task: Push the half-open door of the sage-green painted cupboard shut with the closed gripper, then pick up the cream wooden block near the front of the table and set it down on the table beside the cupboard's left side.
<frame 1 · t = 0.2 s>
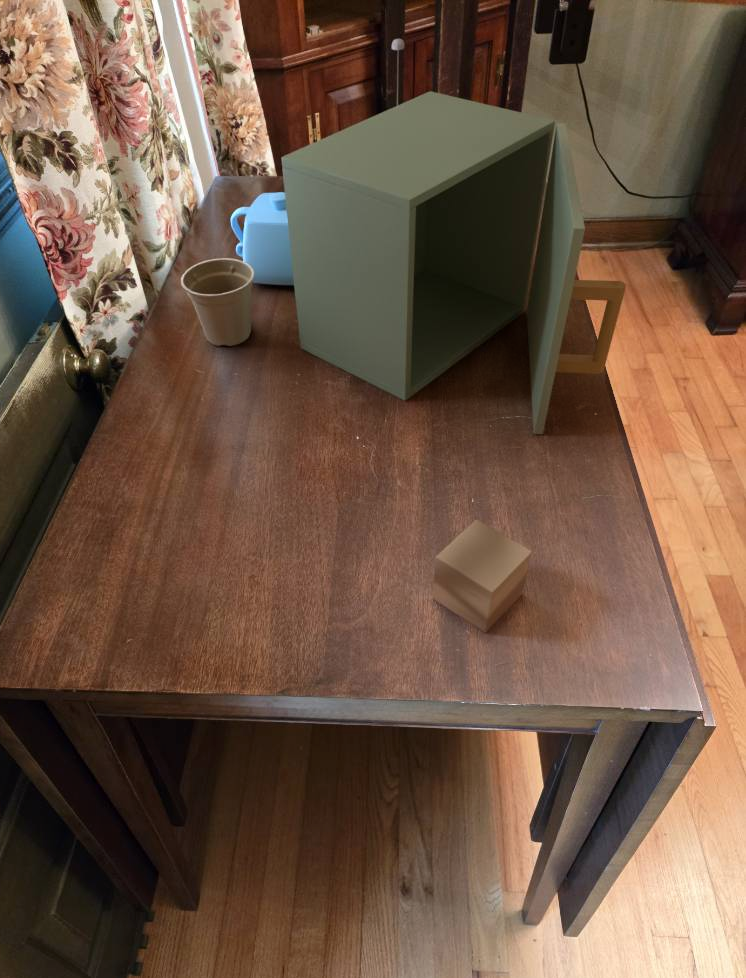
hand: (557, 47, 68), 34 cm above the table, tool pointing down, fingers open, 9 cm apart
block: (477, 596, 68), on the table
teapot: (295, 273, 110), on the table
flower pot: (228, 336, 100), on the table
french press: (401, 215, 122), on the table
cupboard door: (574, 279, 82), point 12 cm above the table, hinge at 35.0°
cupboard: (414, 329, 98), on the table
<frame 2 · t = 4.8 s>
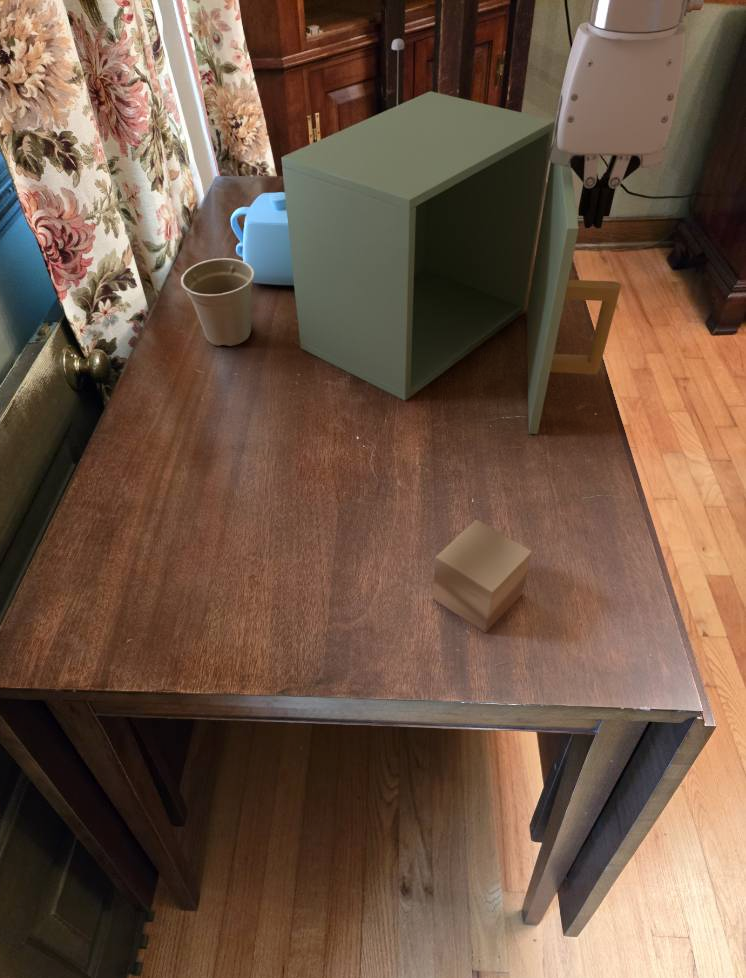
hand: (591, 222, 75), 19 cm above the table, tool pointing down, fingers closed
cupboard door: (572, 280, 82), point 12 cm above the table, hinge at 33.7°, touching gripper
everything else where it was.
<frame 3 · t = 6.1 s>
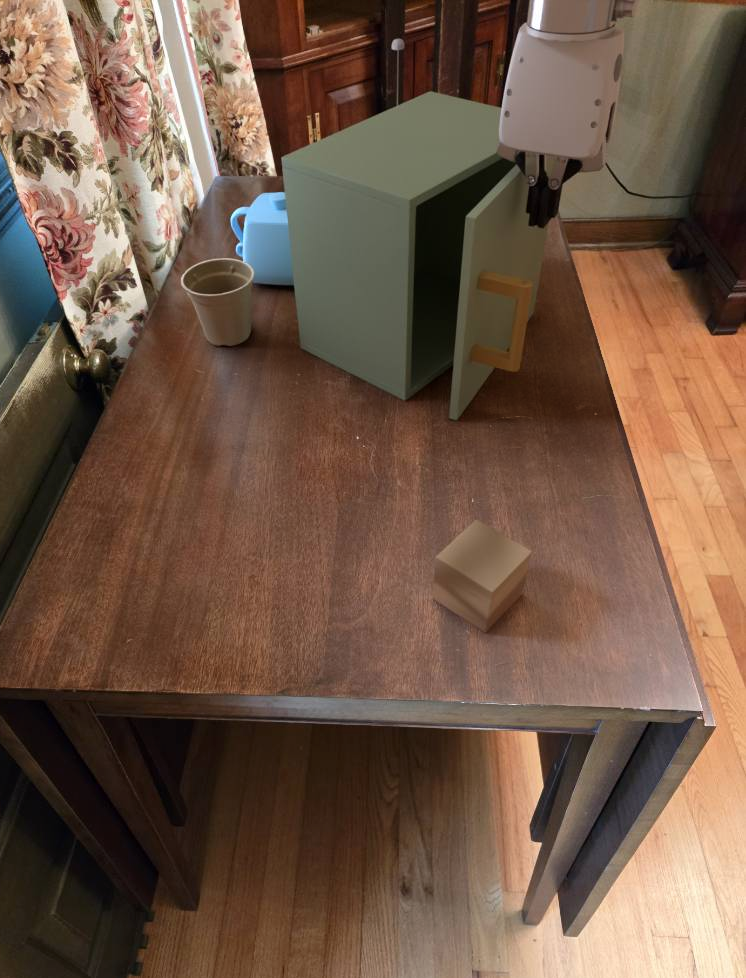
hand: (540, 221, 76), 19 cm above the table, tool pointing down, fingers closed
cupboard door: (529, 279, 82), point 12 cm above the table, hinge at 13.1°, touching gripper
everything else where it was.
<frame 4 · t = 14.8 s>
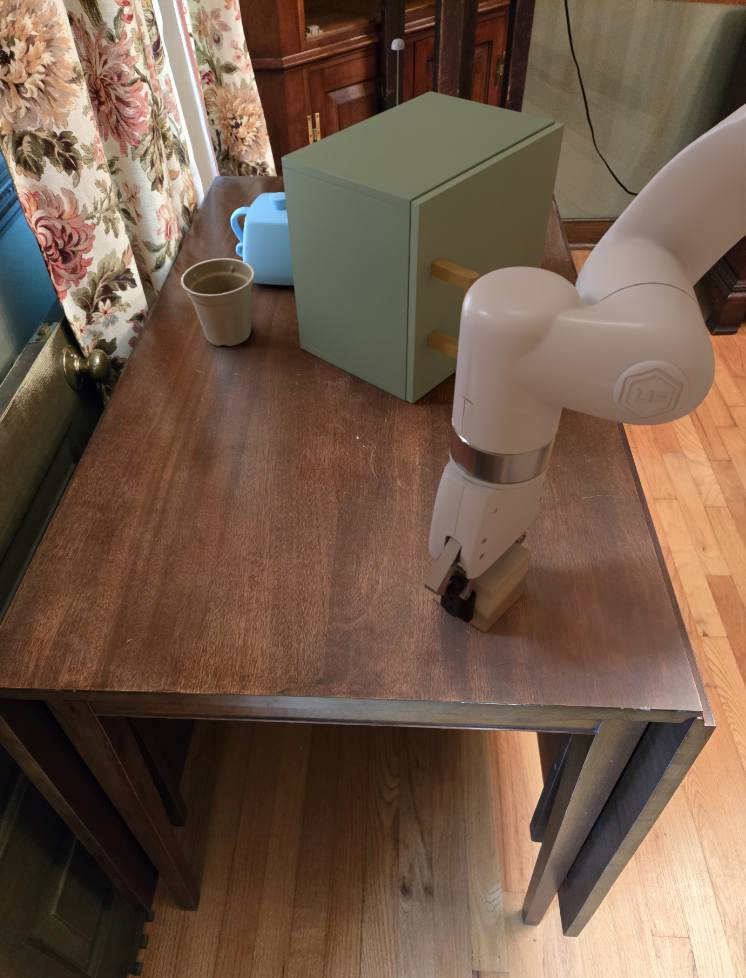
hand: (478, 589, 67), 1 cm above the table, tool pointing down, fingers closed on block, 6 cm apart
block: (477, 596, 68), on the table, touching gripper
cupboard door: (502, 274, 83), point 12 cm above the table, hinge at -0.2°
everything else where it was.
when the fingers open (1 cm above the table, at t = 22.3 s): block stays where it is, on the table.
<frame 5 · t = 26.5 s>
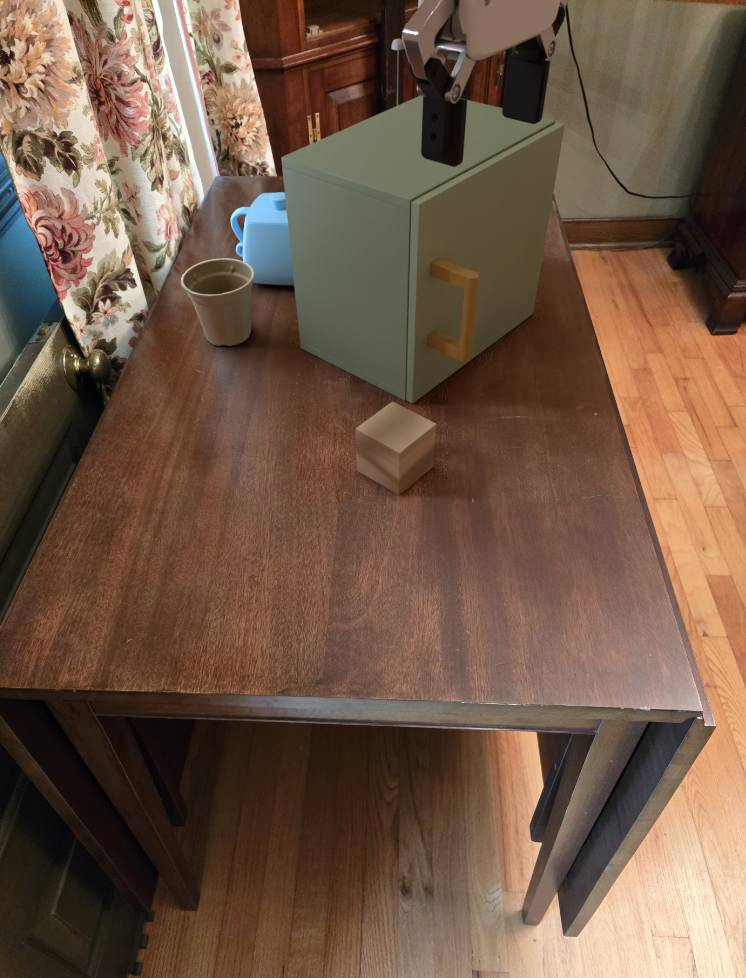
hand: (483, 139, 52), 34 cm above the table, tool pointing down, fingers open, 9 cm apart
block: (395, 468, 80), on the table
everything else where it was.
at the end: cupboard door at +0° (first picture: +35°); block inside the target area on the table beside the cupboard (0.1 cm from its centre), on the table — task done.
